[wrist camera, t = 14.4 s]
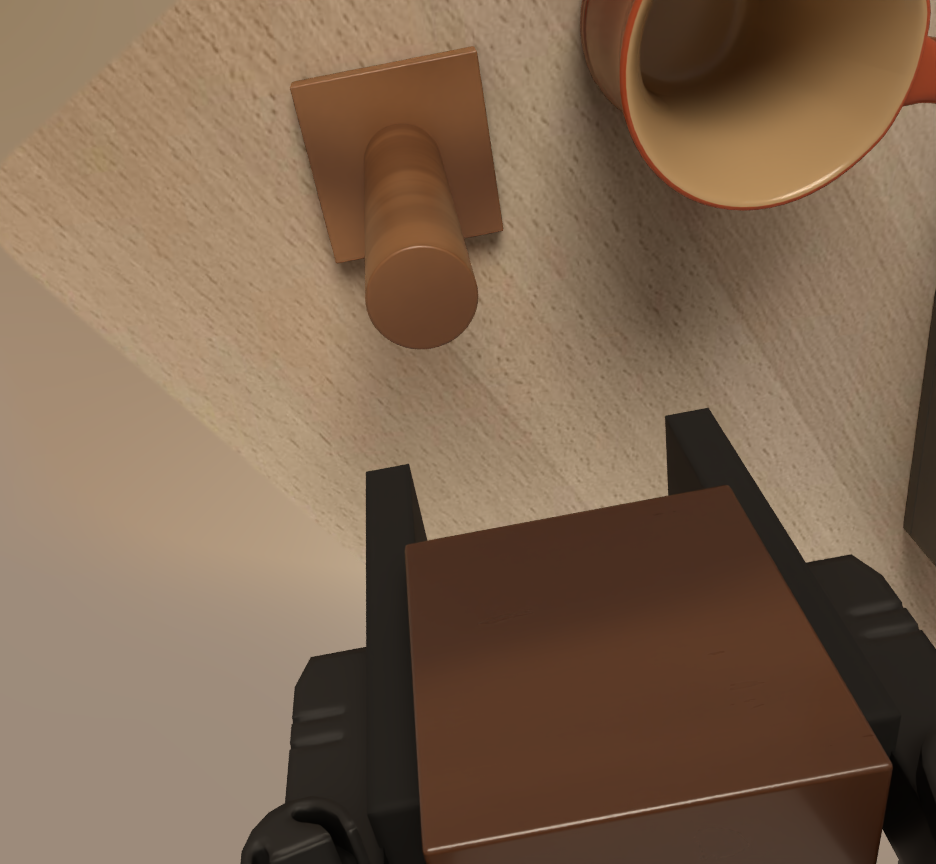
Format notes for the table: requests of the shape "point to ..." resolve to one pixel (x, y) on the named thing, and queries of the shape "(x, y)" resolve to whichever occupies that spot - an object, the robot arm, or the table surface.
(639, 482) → the table surface
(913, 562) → the table surface
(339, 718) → the robot arm
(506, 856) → the block
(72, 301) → the table surface
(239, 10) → the table surface
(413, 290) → the post
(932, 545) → the cabinet
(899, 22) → the mug
